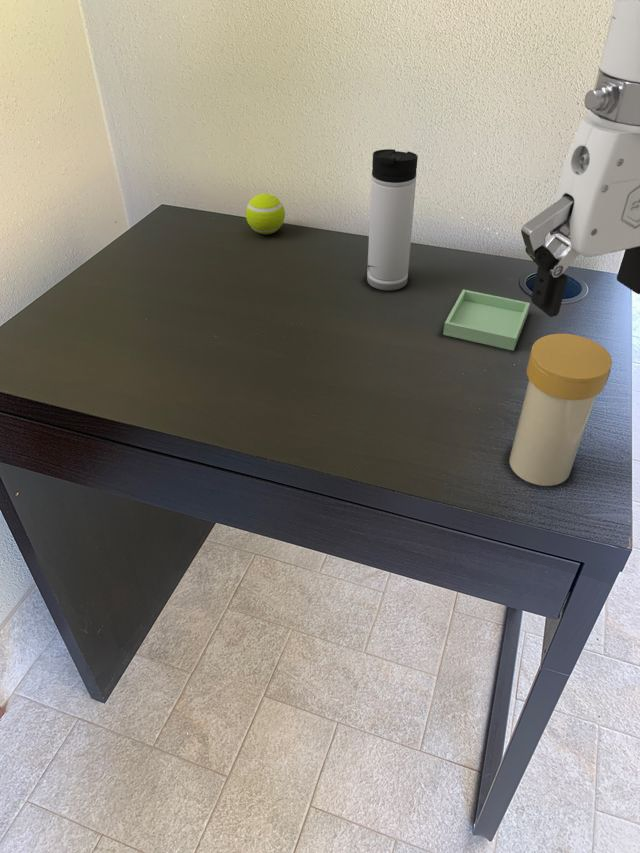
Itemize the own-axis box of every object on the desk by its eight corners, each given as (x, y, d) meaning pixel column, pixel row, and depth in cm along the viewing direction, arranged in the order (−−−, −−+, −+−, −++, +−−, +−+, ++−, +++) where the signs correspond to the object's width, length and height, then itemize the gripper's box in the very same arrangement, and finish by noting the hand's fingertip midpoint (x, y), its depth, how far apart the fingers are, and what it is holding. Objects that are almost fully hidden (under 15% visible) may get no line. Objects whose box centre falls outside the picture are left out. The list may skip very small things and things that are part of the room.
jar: (574, 453, 77) (609, 349, 67) (565, 493, 72) (601, 387, 63) (515, 438, 79) (541, 335, 69) (503, 475, 74) (529, 370, 65)
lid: (609, 364, 69) (616, 343, 67) (600, 408, 64) (608, 386, 62) (534, 348, 71) (539, 327, 70) (519, 388, 66) (524, 367, 64)
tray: (527, 314, 99) (530, 302, 97) (513, 350, 92) (516, 338, 91) (461, 301, 102) (462, 289, 100) (442, 335, 95) (444, 322, 94)
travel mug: (360, 287, 105) (365, 155, 91) (374, 268, 109) (381, 139, 96) (399, 295, 103) (409, 162, 90) (412, 275, 107) (424, 145, 94)
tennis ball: (291, 236, 118) (290, 199, 113) (254, 244, 116) (252, 206, 111) (277, 221, 122) (275, 184, 118) (242, 228, 120) (238, 191, 116)
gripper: (583, 129, 46) (533, 340, 58) (771, 97, 51) (691, 297, 62) (518, 99, 52) (484, 298, 63) (694, 73, 56) (633, 262, 68)
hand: (587, 297), depth 63 cm, fingers open, 9 cm apart
